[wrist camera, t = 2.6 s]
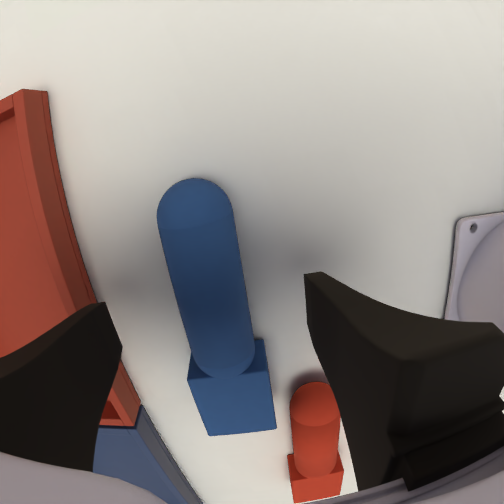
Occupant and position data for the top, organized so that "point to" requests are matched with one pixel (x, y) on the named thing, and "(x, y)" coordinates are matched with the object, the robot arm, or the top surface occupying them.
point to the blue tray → (141, 460)
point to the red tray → (41, 242)
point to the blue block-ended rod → (215, 309)
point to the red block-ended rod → (315, 443)
